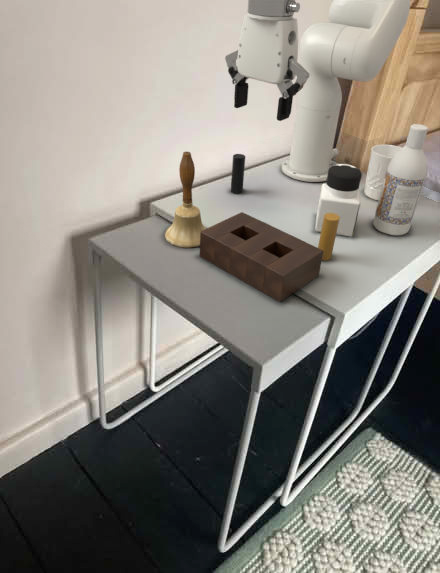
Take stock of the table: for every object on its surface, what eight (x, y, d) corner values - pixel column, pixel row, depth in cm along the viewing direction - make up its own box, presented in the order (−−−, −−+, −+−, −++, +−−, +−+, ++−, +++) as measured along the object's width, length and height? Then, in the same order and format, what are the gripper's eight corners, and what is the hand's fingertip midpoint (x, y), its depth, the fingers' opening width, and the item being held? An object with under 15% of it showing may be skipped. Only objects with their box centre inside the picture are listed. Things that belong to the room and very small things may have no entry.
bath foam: (377, 215, 102) (403, 117, 90) (411, 225, 99) (443, 125, 87) (368, 229, 97) (394, 127, 85) (404, 240, 94) (436, 136, 82)
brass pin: (321, 251, 89) (329, 211, 85) (333, 256, 88) (342, 216, 83) (313, 256, 88) (321, 216, 83) (325, 262, 86) (334, 221, 82)
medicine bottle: (352, 237, 94) (366, 178, 87) (314, 232, 95) (325, 173, 88) (352, 220, 100) (365, 163, 93) (316, 215, 101) (326, 158, 94)
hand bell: (183, 253, 87) (184, 166, 77) (155, 233, 91) (153, 150, 82) (219, 238, 91) (223, 155, 82) (190, 220, 96) (192, 140, 87)
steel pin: (236, 187, 109) (238, 152, 105) (245, 191, 108) (248, 156, 103) (228, 191, 108) (230, 155, 103) (237, 195, 106) (239, 159, 102)
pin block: (199, 256, 86) (200, 231, 83) (239, 235, 92) (241, 211, 89) (279, 302, 77) (284, 276, 74) (318, 275, 83) (324, 250, 80)
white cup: (354, 194, 110) (364, 150, 104) (371, 184, 114) (382, 141, 108) (387, 206, 105) (400, 161, 100) (403, 195, 110) (416, 151, 104)
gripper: (328, 12, 79) (312, 119, 89) (243, -1, 88) (237, 98, 98) (303, 16, 75) (288, 129, 85) (215, 2, 83) (212, 106, 93)
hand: (261, 112), depth 91 cm, fingers open, 9 cm apart
